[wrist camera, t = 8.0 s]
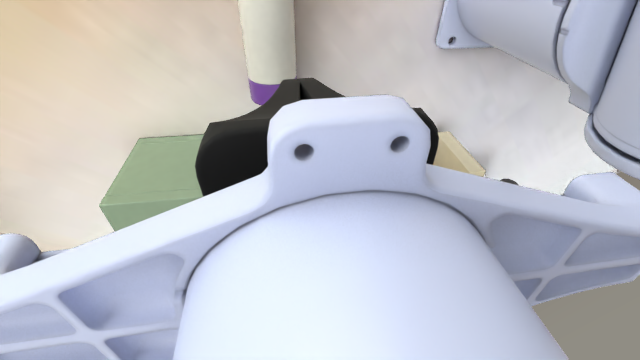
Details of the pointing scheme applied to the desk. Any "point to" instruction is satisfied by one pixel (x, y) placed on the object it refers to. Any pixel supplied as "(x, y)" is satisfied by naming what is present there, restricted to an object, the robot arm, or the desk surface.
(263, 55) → the glue stick
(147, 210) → the box
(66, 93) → the desk surface
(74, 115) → the desk surface
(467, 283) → the robot arm
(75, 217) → the desk surface
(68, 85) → the desk surface
